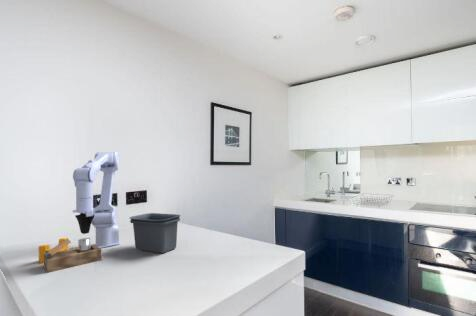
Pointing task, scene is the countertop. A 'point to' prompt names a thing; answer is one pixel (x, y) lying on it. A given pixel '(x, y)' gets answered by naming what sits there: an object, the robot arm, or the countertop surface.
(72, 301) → the countertop surface
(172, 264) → the countertop surface
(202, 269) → the countertop surface
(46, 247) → the pipe clamp
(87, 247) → the peg
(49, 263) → the wooden box
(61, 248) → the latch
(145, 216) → the storage bin
